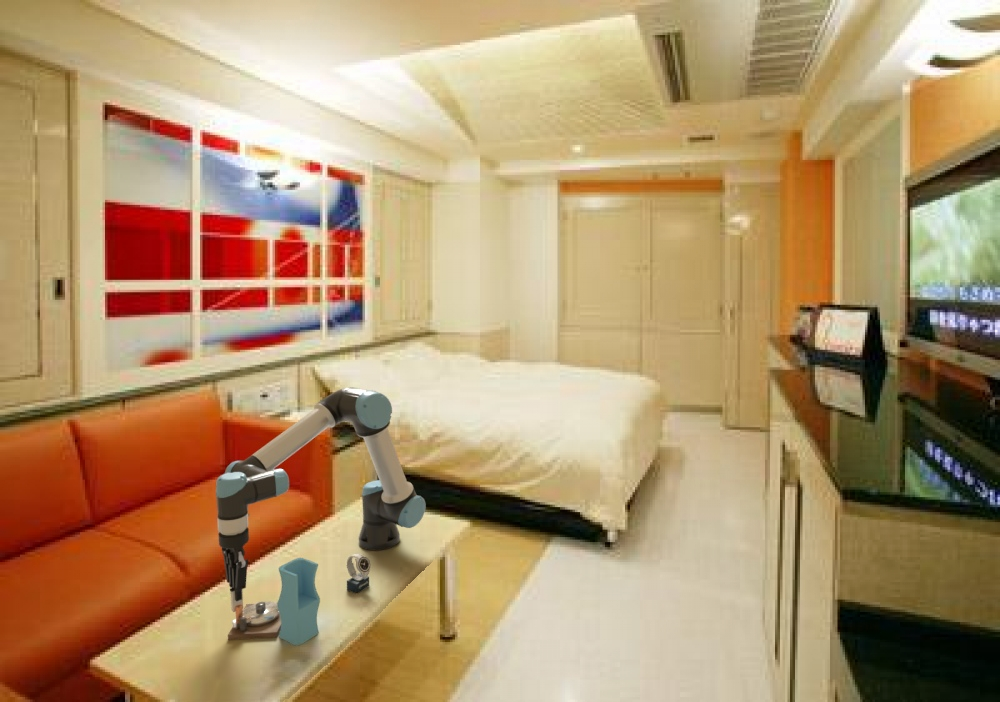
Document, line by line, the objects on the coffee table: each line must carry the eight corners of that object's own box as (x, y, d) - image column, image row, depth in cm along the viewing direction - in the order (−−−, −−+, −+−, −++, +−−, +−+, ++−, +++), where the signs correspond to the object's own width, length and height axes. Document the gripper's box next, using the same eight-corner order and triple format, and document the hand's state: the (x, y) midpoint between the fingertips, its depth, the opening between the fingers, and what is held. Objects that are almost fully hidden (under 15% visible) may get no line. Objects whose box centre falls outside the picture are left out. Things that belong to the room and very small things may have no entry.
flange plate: (270, 602, 170) (269, 584, 169) (286, 615, 163) (285, 597, 162) (227, 620, 161) (226, 601, 160) (241, 634, 154) (240, 615, 153)
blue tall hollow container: (297, 646, 152) (294, 576, 150) (278, 637, 156) (275, 568, 154) (321, 631, 159) (318, 563, 156) (302, 622, 163) (299, 556, 161)
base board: (246, 608, 170) (246, 593, 169) (291, 606, 171) (290, 590, 170) (228, 639, 155) (227, 622, 154) (277, 637, 156) (276, 620, 156)
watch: (361, 595, 177) (360, 562, 176) (343, 588, 181) (342, 555, 180) (374, 587, 182) (373, 554, 181) (355, 580, 186) (354, 548, 185)
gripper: (256, 533, 154) (260, 613, 157) (238, 518, 163) (242, 594, 166) (228, 541, 149) (232, 625, 152) (210, 526, 157) (215, 605, 161)
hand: (237, 609), depth 159 cm, fingers closed
